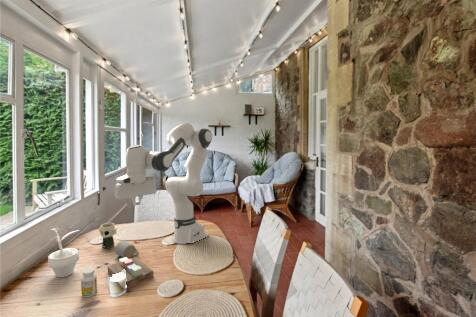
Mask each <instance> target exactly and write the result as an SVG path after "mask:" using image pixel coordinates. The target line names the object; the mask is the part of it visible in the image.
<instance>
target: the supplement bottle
mask: <svg viewBox="0 0 476 317" xmlns="http://www.w3.org/2000/svg"><path fill="white" fill-rule="evenodd" d="M97 282H98V280H97V274H96V273H95V268H93V267H90V268H85V269H84V270H83V271H82V277H81V278H80V284H81V285H80V290H81V291H80V292H81V296H82V297H83V298H91V297H93V296H94V295H96V294H97V293H98V284H97Z"/></svg>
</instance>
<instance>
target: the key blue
mask: <svg viewBox="0 0 476 317" xmlns="http://www.w3.org/2000/svg"><path fill="white" fill-rule="evenodd" d="M135 266H137V265H135V264H131V265H129V266H127V272H128V273H129V274H130V273H131V268H133V267H135Z"/></svg>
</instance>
